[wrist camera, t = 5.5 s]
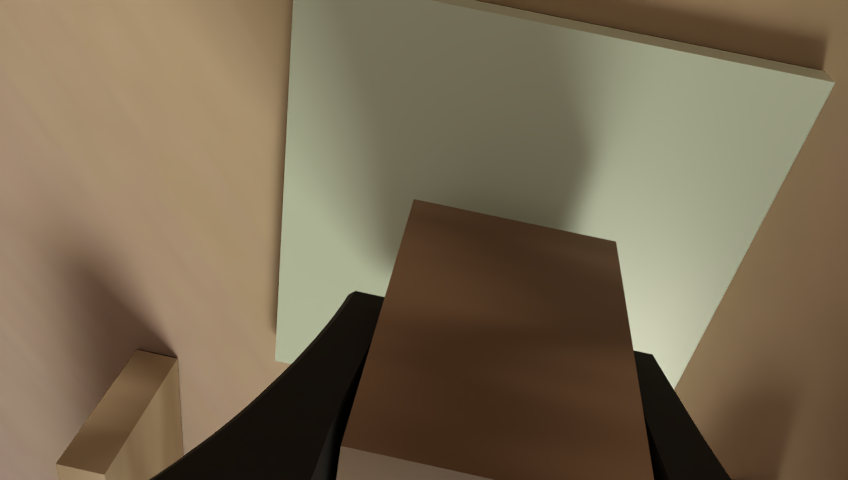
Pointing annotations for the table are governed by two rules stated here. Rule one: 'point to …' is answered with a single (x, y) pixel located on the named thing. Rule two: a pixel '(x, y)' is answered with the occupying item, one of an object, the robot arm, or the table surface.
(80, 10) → the table surface
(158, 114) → the table surface
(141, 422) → the corral
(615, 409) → the walnut block
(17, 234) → the table surface
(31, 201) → the table surface
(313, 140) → the pad
